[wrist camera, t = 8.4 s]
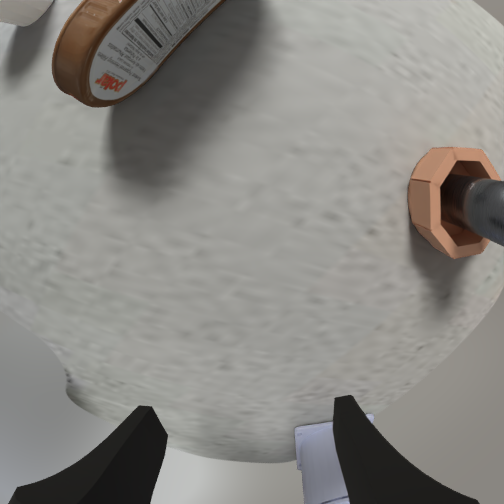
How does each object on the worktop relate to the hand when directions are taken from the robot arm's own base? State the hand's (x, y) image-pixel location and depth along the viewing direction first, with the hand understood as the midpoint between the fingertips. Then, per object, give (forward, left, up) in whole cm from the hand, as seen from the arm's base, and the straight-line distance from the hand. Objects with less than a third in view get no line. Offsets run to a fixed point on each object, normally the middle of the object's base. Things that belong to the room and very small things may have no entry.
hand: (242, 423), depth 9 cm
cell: (+6, -15, -10) cm, 19 cm away
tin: (+20, +2, -11) cm, 23 cm away
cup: (+6, -15, -10) cm, 19 cm away
